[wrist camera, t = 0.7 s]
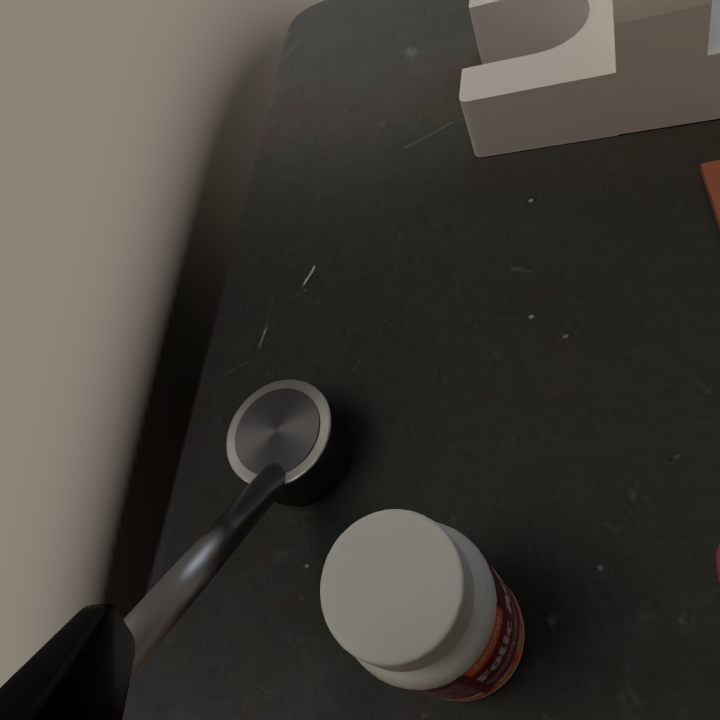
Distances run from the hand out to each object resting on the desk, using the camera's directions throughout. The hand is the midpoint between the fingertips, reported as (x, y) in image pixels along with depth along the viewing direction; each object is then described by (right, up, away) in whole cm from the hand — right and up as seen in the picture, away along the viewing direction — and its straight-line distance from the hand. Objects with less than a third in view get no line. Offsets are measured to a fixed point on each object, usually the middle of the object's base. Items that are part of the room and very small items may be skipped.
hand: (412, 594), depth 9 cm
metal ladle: (-3, -5, +19) cm, 19 cm away
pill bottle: (+3, -7, +15) cm, 16 cm away
